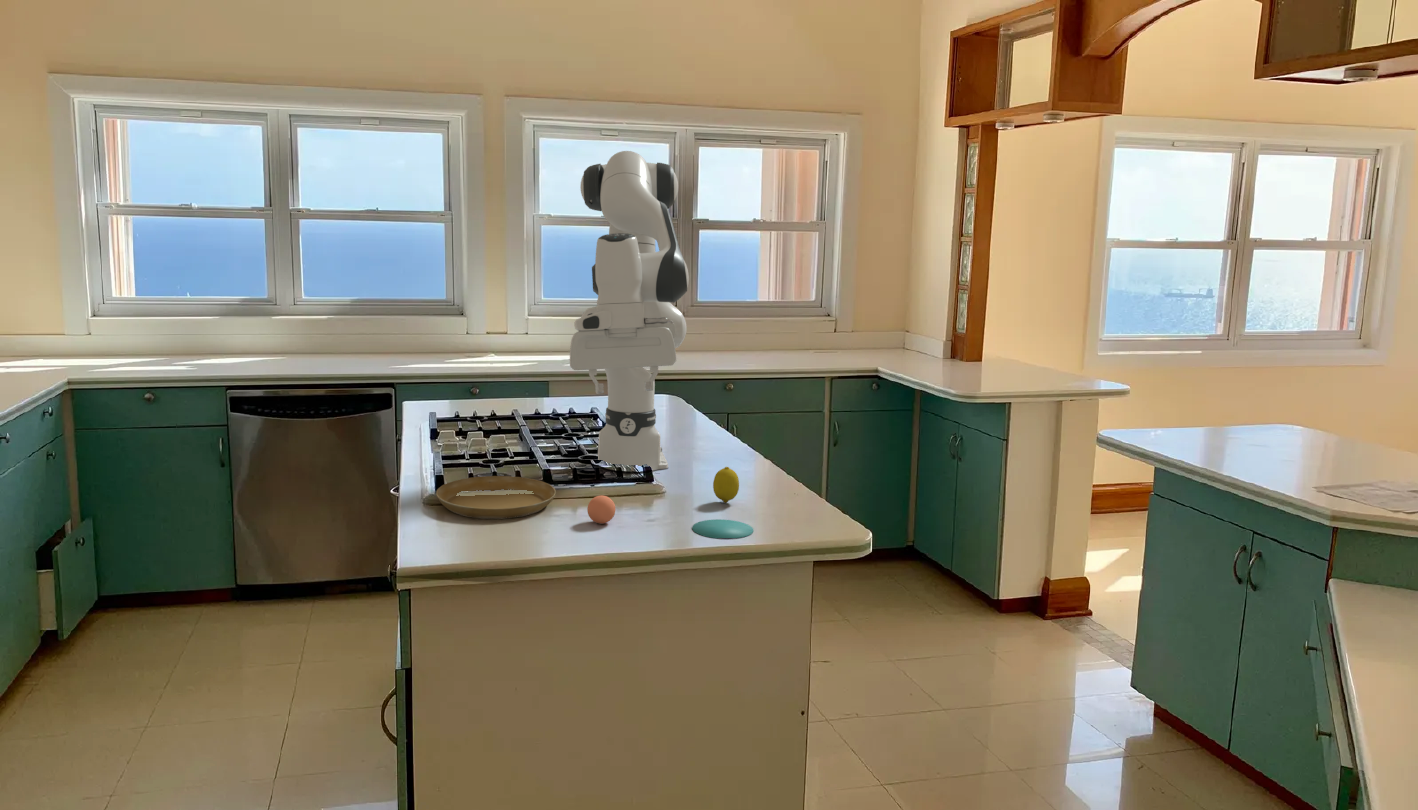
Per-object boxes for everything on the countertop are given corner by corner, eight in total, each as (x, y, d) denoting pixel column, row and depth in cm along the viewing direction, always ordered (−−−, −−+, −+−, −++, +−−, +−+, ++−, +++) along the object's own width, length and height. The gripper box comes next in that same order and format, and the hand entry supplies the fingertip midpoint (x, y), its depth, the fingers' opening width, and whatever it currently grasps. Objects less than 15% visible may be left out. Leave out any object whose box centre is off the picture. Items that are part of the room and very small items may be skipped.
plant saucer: (556, 523, 202) (556, 506, 201) (430, 524, 198) (430, 507, 197) (554, 490, 225) (554, 475, 225) (441, 490, 221) (441, 475, 221)
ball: (589, 518, 205) (590, 491, 204) (616, 519, 204) (617, 493, 203) (585, 526, 199) (585, 499, 198) (613, 527, 199) (613, 500, 198)
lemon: (735, 507, 217) (737, 470, 215) (710, 505, 218) (711, 468, 216) (740, 500, 222) (742, 465, 220) (715, 498, 223) (716, 462, 222)
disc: (694, 518, 207) (694, 518, 207) (753, 522, 207) (753, 521, 207) (690, 537, 195) (690, 536, 195) (753, 540, 195) (753, 539, 195)
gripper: (673, 317, 199) (676, 388, 200) (567, 321, 196) (570, 393, 197) (677, 316, 193) (680, 390, 194) (568, 321, 190) (572, 396, 191)
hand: (624, 392), depth 196 cm, fingers open, 8 cm apart
